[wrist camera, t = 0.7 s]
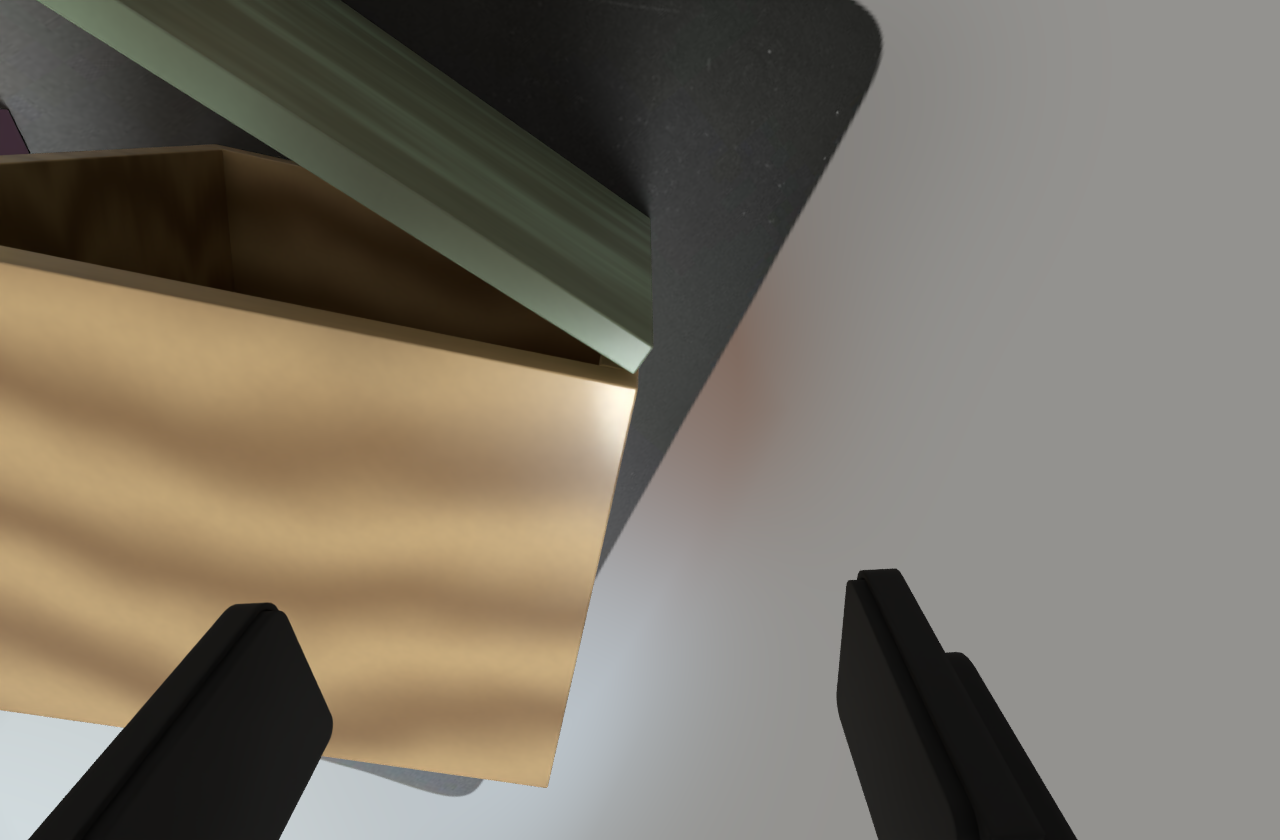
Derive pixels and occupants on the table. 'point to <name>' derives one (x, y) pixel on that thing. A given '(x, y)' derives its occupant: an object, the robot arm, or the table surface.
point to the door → (404, 150)
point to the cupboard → (289, 456)
